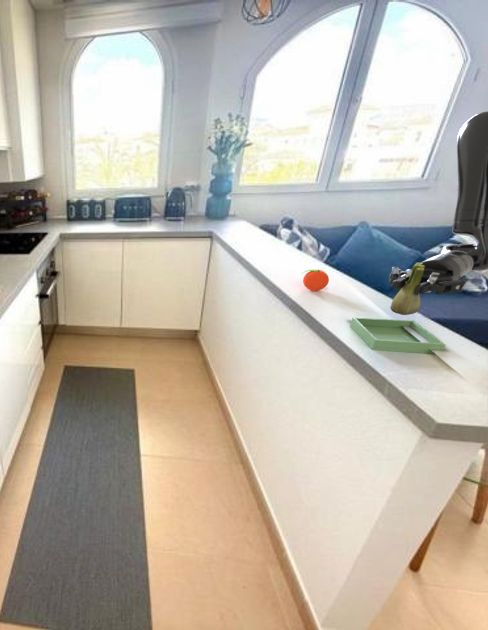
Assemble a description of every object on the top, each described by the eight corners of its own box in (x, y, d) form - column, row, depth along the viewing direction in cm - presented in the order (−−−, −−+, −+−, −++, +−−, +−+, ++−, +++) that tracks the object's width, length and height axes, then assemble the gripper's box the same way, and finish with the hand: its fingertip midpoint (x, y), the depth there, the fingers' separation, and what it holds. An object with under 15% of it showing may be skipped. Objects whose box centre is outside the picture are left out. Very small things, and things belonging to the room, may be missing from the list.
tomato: (295, 291, 114) (300, 270, 111) (298, 284, 119) (303, 264, 116) (325, 295, 110) (330, 274, 107) (326, 288, 115) (332, 268, 112)
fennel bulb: (397, 306, 85) (415, 259, 80) (422, 313, 81) (442, 265, 76) (383, 311, 83) (401, 264, 78) (408, 319, 79) (428, 270, 74)
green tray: (410, 329, 88) (413, 320, 87) (441, 354, 78) (446, 344, 77) (349, 325, 92) (352, 317, 91) (371, 349, 82) (375, 340, 80)
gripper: (408, 250, 89) (374, 265, 82) (487, 263, 77) (456, 281, 70) (398, 277, 92) (364, 293, 85) (472, 293, 81) (441, 314, 74)
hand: (406, 288), depth 78 cm, fingers closed on fennel bulb, 3 cm apart
